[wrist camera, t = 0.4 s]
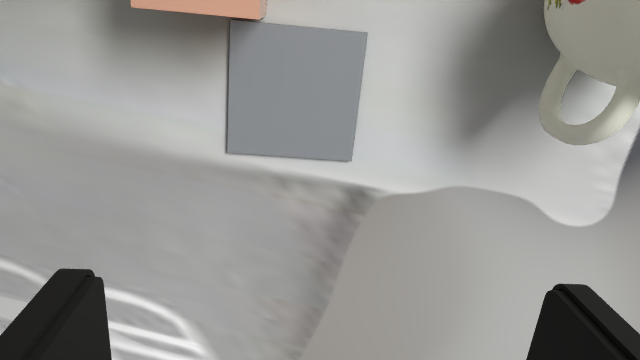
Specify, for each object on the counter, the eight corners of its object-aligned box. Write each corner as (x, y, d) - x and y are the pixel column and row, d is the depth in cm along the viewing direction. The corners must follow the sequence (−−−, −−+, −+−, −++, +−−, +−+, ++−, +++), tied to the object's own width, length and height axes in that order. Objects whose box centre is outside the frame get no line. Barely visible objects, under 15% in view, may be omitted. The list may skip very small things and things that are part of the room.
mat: (230, 19, 33) (230, 19, 33) (366, 32, 34) (367, 32, 34) (227, 151, 37) (227, 152, 36) (351, 159, 38) (351, 161, 37)
